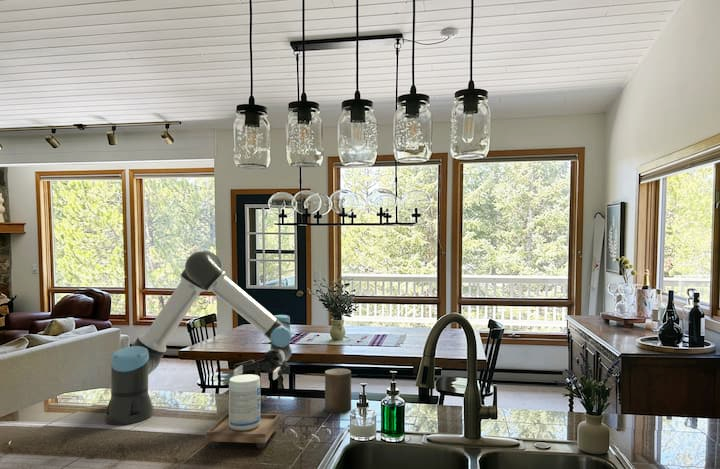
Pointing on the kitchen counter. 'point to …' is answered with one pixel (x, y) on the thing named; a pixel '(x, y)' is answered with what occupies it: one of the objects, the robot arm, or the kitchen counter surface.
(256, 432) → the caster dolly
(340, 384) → the pillar candle
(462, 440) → the kitchen counter surface
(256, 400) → the supplement tub
